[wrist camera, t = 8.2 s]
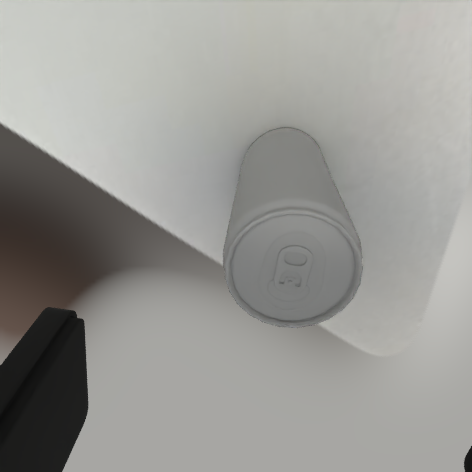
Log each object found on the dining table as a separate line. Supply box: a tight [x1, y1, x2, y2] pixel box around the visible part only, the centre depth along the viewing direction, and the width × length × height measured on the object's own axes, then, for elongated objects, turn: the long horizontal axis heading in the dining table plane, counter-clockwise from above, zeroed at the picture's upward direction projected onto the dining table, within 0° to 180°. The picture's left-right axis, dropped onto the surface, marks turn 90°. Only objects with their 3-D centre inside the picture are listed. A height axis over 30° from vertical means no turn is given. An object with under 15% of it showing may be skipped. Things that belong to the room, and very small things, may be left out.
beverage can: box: [223, 128, 363, 328], centre depth 19 cm, size 5×5×12 cm
